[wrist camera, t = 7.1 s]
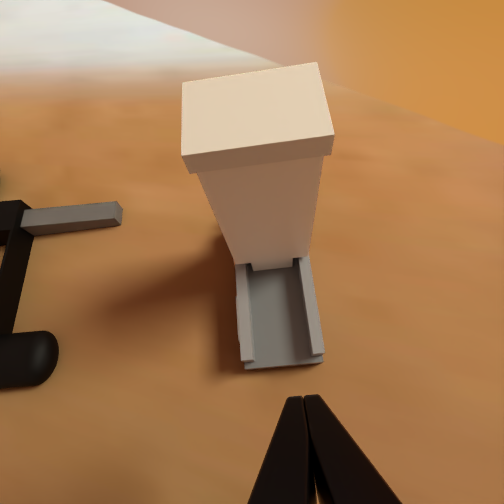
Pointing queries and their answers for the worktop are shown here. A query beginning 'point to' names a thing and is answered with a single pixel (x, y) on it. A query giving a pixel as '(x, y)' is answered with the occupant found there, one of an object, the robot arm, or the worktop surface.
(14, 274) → the door handle
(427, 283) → the worktop surface
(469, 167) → the worktop surface
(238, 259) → the tall lidded box
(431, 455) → the worktop surface
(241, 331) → the switch base
